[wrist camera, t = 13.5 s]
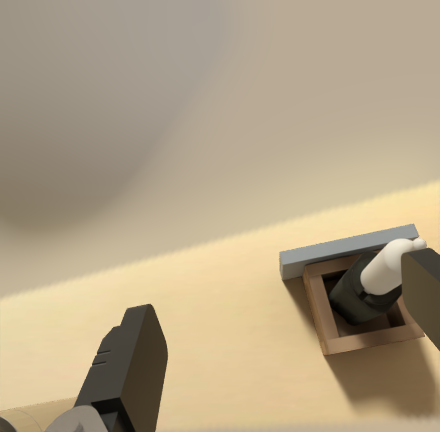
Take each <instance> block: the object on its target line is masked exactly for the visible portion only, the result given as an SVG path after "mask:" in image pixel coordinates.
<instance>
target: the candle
mask: <svg viewBox="0 0 440 432" xmlns="http://www.w3.org/2000/svg"><path fill="white" fill-rule="evenodd" d="M426 246H427V244H426V242H425V240H423V239H421V238H417V239H415V240H414V241H411V240H408V239H396V240H393V241H391V242H389V243H388V244H387V245H386V246H385V247H384V248H383V249H382V250H381V252H380V253H379V254H377V253H376V252H373V251H367V252H364V253H362V254H361V255H360V256H359V257H358V259H357V260H356V261H355V262H354V263H353V265H352V266H351V267H350V268H349V269H348V270H347V272H346V273H345V274H344V275H343V277H342V278H341V279H340V281H339V282H338V283H337V285H336V286H335V287H334V288H333V290H332V291H331V292H330V294H329V295H328V301H329V304H330V307H331V309H333V310H334V311H336V312H337V313H338V314H339V315H340V316H342V317H343V318H344V319H345V320H346V321H347V323H348V324H349V325H352V326H356V325H359V324H361V323H364V322H366V321H368V320H371V319H373V318H375V317H377V316H380V315H382V314H384V313H386V312H388V311H389V310H390V309H391V307H392V306H393V305H394V303H395V302H396V301H397V300H398V298H399V297H400V296H401V295H402V277H401V255H402V254H403V253H405V252H410V251H415V250H420V249H425V248H426Z"/></svg>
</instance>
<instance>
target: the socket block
mask: <svg viewBox="0 0 440 432" xmlns="http://www.w3.org/2000/svg"><path fill="white" fill-rule="evenodd" d="M381 250H382V249H381ZM381 250H376V251H373V252H376V253H377V254H379V253H380V252H381ZM361 254H362V253H361ZM361 254H357V255H352V256H347V257H342V258H337V259H333V260H328V261H323V262H318V263H313V264H309V265H305V268H304V272H303V275H302V280H303V283H304V287H305V291H306V294H307V298H308V302H309V305H310V309H311V313H312V316H313V320H314V324H315V327H316V331H317V335H318V338H319V342H320V346H321V349H322V353H323V355H329V354H335V353H340V352H345V351H351V350H356V349H361V348H367V347H372V346H378V345H383V344H388V343H394V342H399V341H404V340H410V339H415V338H420V337H425V335H424V332H423V330H422V329H421V328H420V326H419V325H418V324H417V323H416V322H415V320H414V319H413V318H412V317H411V315H410V314H409V313H408V311H407V309H406V307H405V304H404V301H403V296H402V295H401V296H400V297H399V298H398V300H397V301H396V302H395V303H394V305H393V306H392V307H391V309H390V310H389V311H388V312H386V313H384V314H382V315H380V316H377V317H375V318H373V319H371V320H368V321H366V322H364V323H361V324H359V325H356V326H352V325H349V324H348V323H347V321H346V320H345V319H344V318H343V317H342V316H340V315H339V314H338V313H337V312H336V311H334V310H333V309H331V307H330V304H329V301H328V295H329V294H330V292H331V291H332V290H333V288H334V287H335V286H336V285H337V283H338V282H339V281H340V279H341V278H342V277H343V275H344V274H345V273H346V272H347V270H348V269H349V268H350V267H351V266H352V265H353V263H354V262H355V261H356V260H357V259H358V257H359V256H360V255H361Z"/></svg>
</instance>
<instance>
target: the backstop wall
mask: <svg viewBox="0 0 440 432" xmlns="http://www.w3.org/2000/svg"><path fill="white" fill-rule="evenodd" d="M418 237H419V234H418V232H417V230H416V228H415V225H414V224H410V225H405V226H400V227H396V228H391V229H386V230H381V231H377V232H372V233H367V234H363V235H358V236H353V237H349V238H344V239H339V240H334V241H330V242H325V243H320V244H316V245H311V246H306V247H301V248H297V249H292V250H287V251H283V252H280V273H281V277H282V280H287V279H292V278H297V277H302V275H303V272H304V268H305V265H309V264H313V263H318V262H323V261H328V260H333V259H337V258H342V257H347V256H352V255H357V254H361V253H364V252H367V251H376V250H381V249H383V248H384V247H385V246H386V245H387V244H388V243H389V242H391V241H393V240H396V239H408V240H411V241H414V240H415V239H417V238H418Z"/></svg>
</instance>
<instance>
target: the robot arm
mask: <svg viewBox="0 0 440 432" xmlns="http://www.w3.org/2000/svg"><path fill="white" fill-rule="evenodd" d="M401 277H402V296H403V301H404V304H405V307H406V309H407V311H408V313H409V314H410V315H411V317H412V318H413V319H414V320H415V322H416V323H417V324H418V325H419V326H420V328H421V329H422V330H423V331H424V333H425V334H426V335H427V336H428V337H429V339H430V340H431V341H432V342H433V343H434V345H435V346H436V347H437V348H438V350H439V351H440V255H439V254H438V253H436V252H435V251H434V250H433V249H431V248H425V249H420V250H415V251H410V252H405V253H403V254H402V255H401ZM167 360H168V351H167V344H166V340H165V337H164V335H163V332H162V329H161V326H160V324H159V321H158V318H157V315H156V313H155V310H154V308H153V306H152V305H151V304H146V305H141V306H136V307H132V308H128V309H127V310H126V312H125V315H124V317H123V320H122V322H121V325H120V326H116V327H113V328H112V329H111V331H110V332H109V333H108V334H107V335H106V336H105V337H104V339H103V340H102V342H101V344H100V347H99V349H98V351H97V355H96V356H95V358H94V361H93V363H92V367H90V370H89V372H88V374H87V377H86V379H85V381H84V383H83V386H82V388H81V390H80V393H79V395H78V397H74V398H69V399H62V400H57V401H51V402H46V403H41V404H35V405H30V406H24V407H19V408H14V409H8V410H4V411H0V432H155V430H156V424H157V418H158V413H159V407H160V401H161V395H162V389H163V384H164V378H165V372H166V366H167Z"/></svg>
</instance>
